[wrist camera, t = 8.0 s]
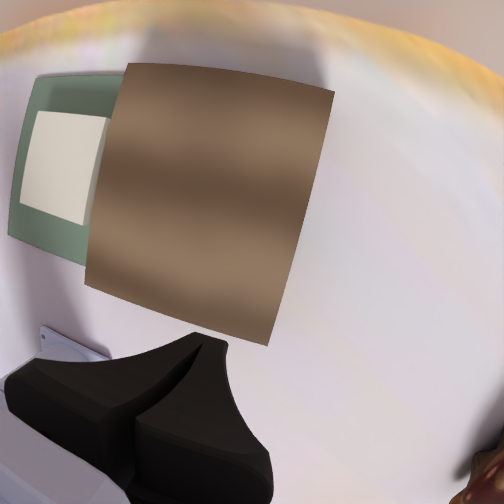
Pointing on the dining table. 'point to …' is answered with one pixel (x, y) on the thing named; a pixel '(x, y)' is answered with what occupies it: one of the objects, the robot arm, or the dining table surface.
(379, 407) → the dining table surface
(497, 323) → the dining table surface
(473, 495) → the decorative turtle
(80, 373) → the robot arm
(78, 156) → the coaster
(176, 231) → the walnut step
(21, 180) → the rubber mat
